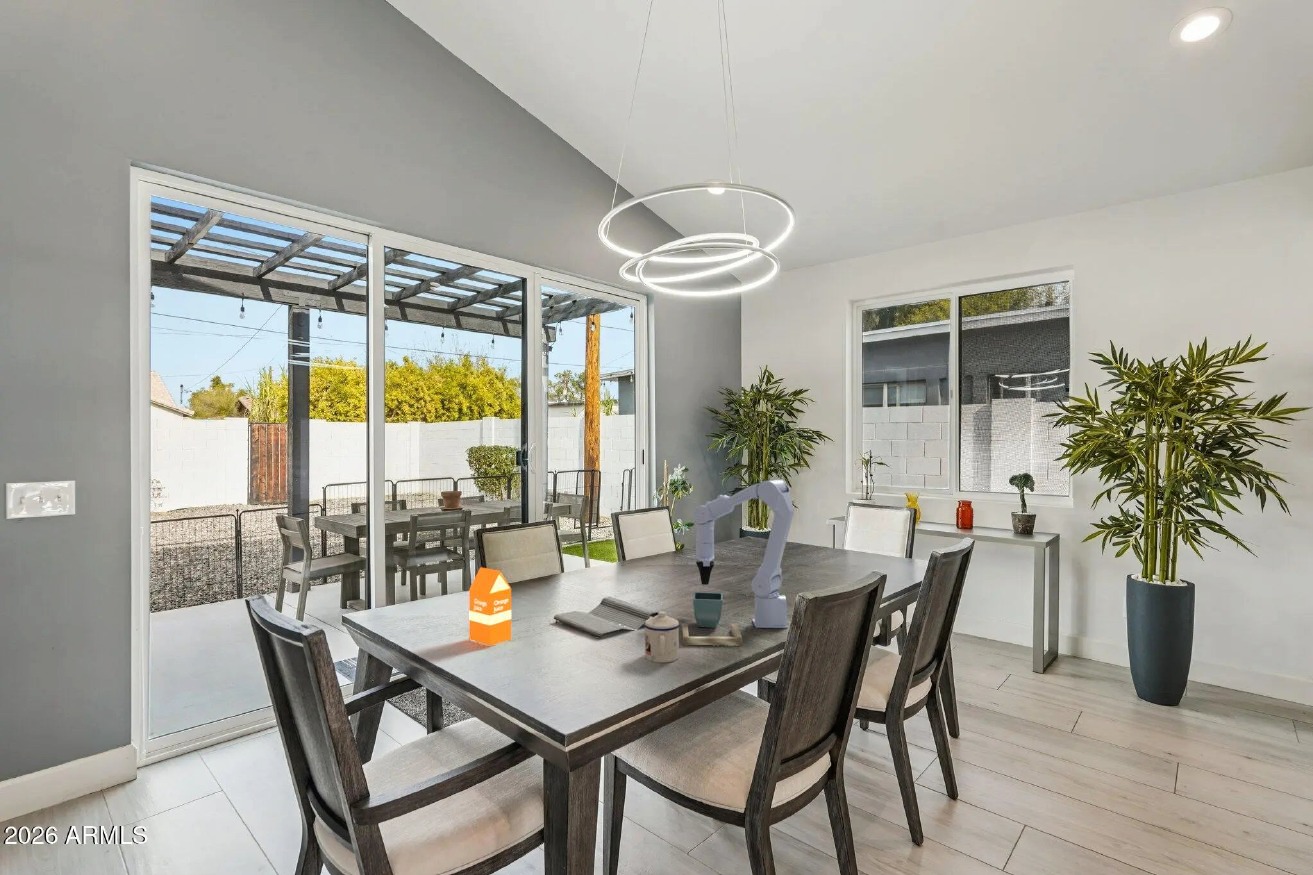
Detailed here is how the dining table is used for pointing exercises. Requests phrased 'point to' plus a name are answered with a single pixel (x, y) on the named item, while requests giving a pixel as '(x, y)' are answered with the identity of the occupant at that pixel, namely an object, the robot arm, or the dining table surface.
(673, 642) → the teacup with lid
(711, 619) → the flower pot
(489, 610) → the orange juice
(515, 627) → the dining table surface
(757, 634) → the dining table surface
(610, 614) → the mat
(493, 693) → the dining table surface
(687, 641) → the cream wooden frame
